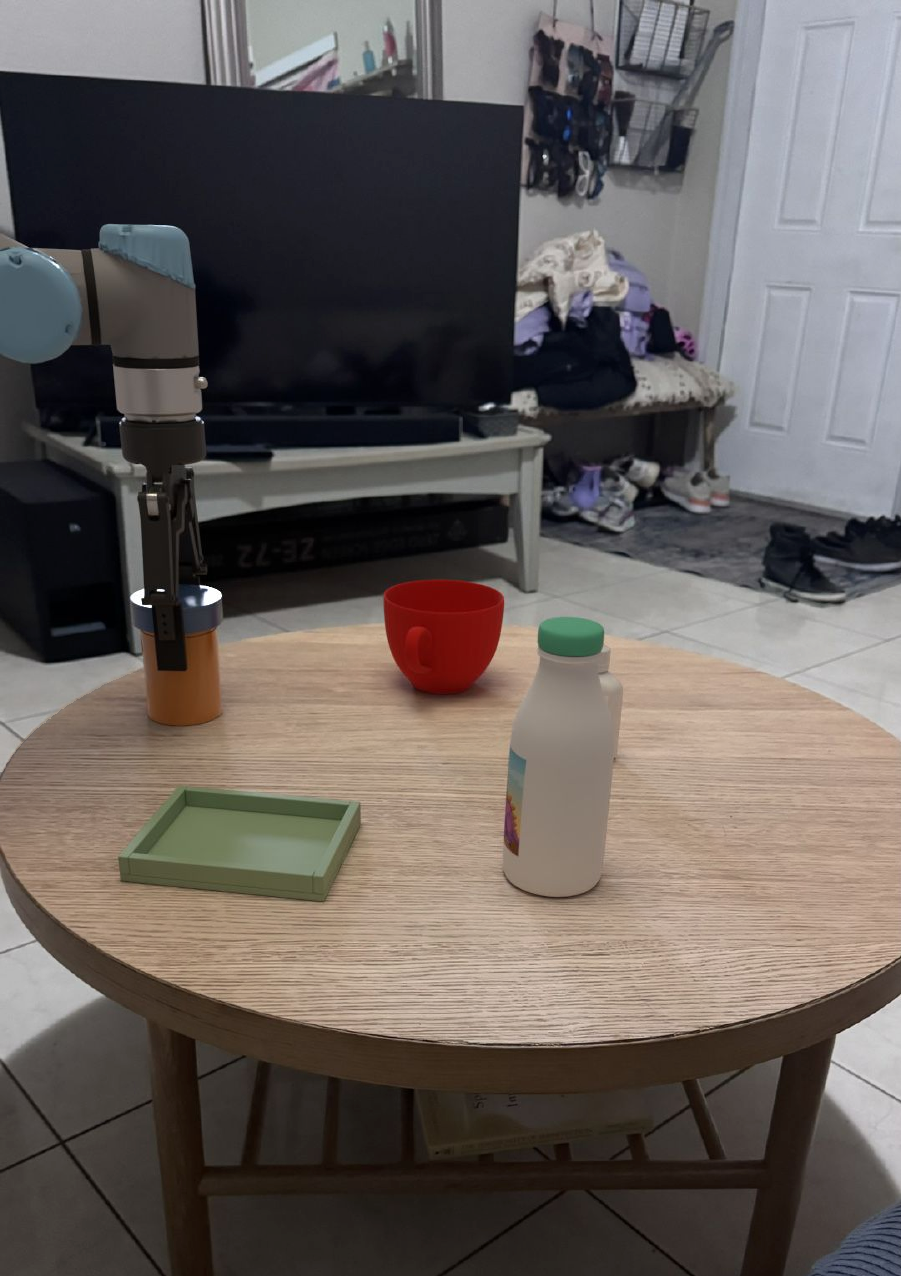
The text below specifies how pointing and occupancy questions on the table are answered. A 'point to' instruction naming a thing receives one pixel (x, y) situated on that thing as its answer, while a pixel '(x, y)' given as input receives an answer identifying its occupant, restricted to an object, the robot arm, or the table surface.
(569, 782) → the milk bottle
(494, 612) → the ceramic cup
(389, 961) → the table surface
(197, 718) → the jar
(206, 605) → the lid
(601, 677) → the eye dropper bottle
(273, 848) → the tray
